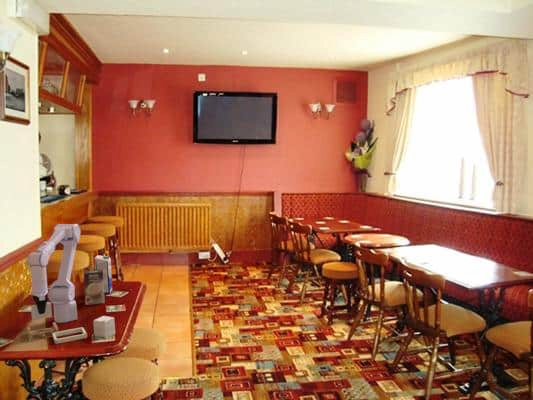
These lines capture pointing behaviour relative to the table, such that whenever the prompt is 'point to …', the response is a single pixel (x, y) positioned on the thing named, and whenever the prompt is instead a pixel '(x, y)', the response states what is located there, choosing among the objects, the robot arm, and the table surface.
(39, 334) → the offcut
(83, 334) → the tray
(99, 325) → the skincare box
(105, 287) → the milk carton
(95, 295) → the coffee box
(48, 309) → the block
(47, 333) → the offcut
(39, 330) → the rack
